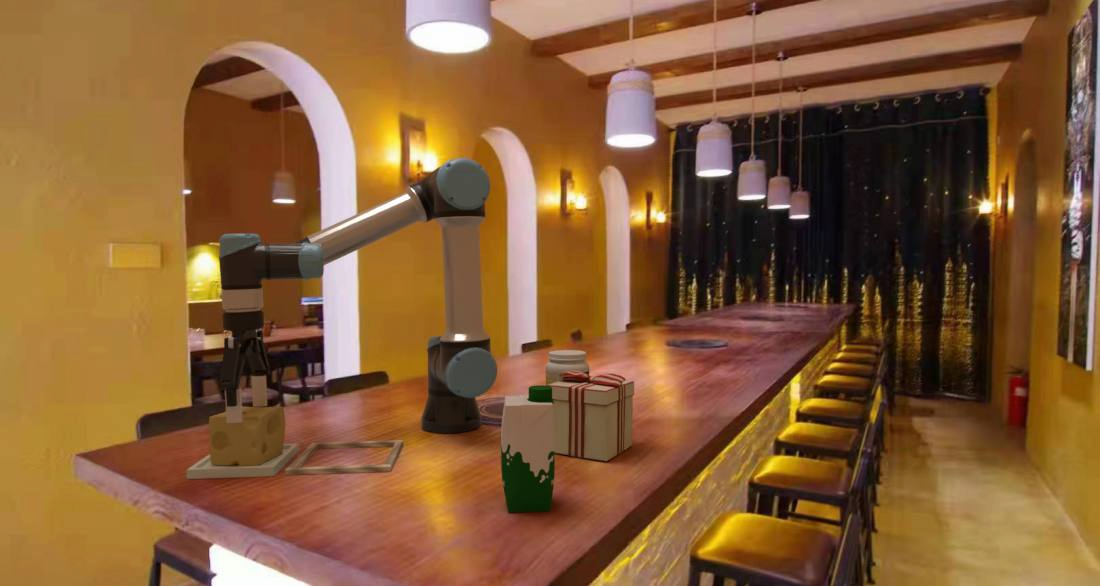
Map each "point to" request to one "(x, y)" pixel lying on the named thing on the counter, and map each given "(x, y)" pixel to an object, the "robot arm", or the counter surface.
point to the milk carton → (528, 450)
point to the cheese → (247, 437)
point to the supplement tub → (565, 364)
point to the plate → (232, 471)
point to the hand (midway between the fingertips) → (248, 413)
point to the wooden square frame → (298, 470)
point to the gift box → (592, 415)
